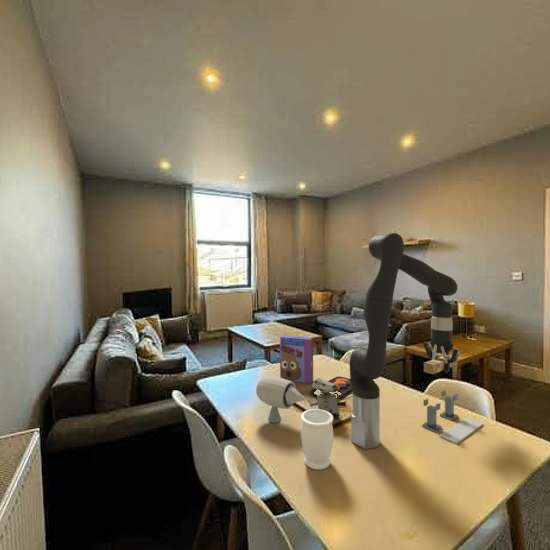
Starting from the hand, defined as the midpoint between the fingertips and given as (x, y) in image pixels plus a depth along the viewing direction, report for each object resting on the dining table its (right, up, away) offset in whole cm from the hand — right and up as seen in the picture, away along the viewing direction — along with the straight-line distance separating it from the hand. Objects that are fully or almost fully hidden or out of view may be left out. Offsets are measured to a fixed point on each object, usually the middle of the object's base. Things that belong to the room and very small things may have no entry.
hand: (441, 370), depth 123 cm
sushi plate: (-29, -21, +29) cm, 46 cm away
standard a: (-5, -21, -3) cm, 22 cm away
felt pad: (+5, -21, -6) cm, 22 cm away
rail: (0, +1, 0) cm, 1 cm away
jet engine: (-65, -22, +3) cm, 68 cm away
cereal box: (-54, -20, +47) cm, 74 cm away
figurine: (-45, -21, +6) cm, 51 cm away
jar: (-53, -22, -23) cm, 62 cm away
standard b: (+6, -21, +5) cm, 22 cm away
